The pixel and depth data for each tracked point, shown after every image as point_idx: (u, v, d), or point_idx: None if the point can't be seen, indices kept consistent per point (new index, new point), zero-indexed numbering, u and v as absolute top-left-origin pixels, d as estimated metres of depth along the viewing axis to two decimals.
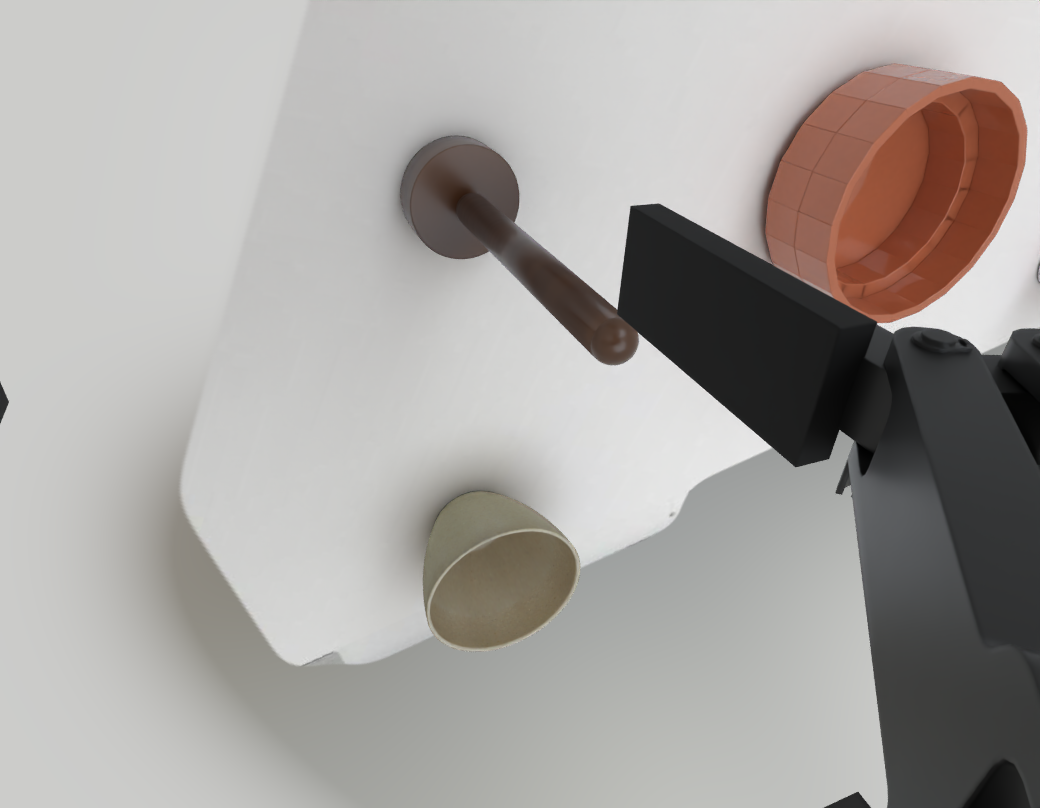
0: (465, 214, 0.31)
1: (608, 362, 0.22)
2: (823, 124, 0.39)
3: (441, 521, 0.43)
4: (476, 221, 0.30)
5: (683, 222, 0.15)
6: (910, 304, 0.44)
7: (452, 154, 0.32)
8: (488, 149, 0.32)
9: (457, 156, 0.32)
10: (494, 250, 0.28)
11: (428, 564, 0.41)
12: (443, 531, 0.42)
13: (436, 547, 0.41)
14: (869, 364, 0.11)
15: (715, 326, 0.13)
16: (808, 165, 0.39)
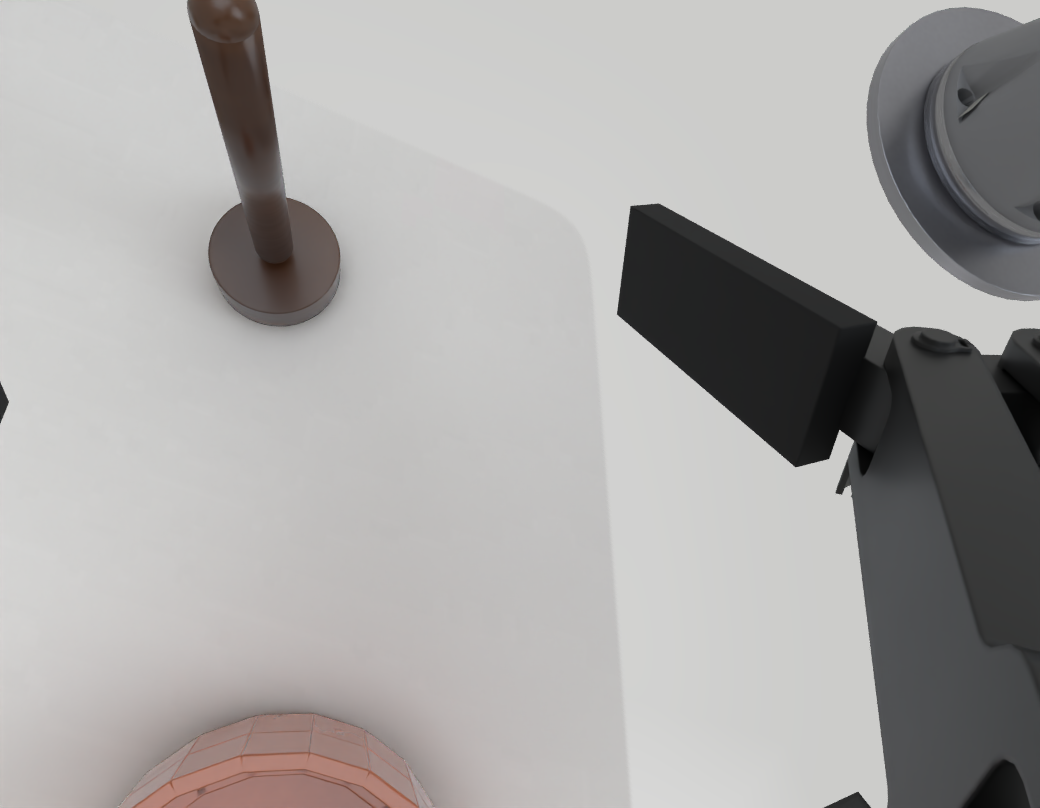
0: None
1: None
2: (370, 742, 0.28)
3: None
4: None
5: (683, 222, 0.15)
6: None
7: (329, 240, 0.31)
8: (334, 277, 0.31)
9: (327, 245, 0.31)
10: None
11: None
12: None
13: None
14: (869, 364, 0.11)
15: (715, 326, 0.13)
16: (317, 728, 0.27)
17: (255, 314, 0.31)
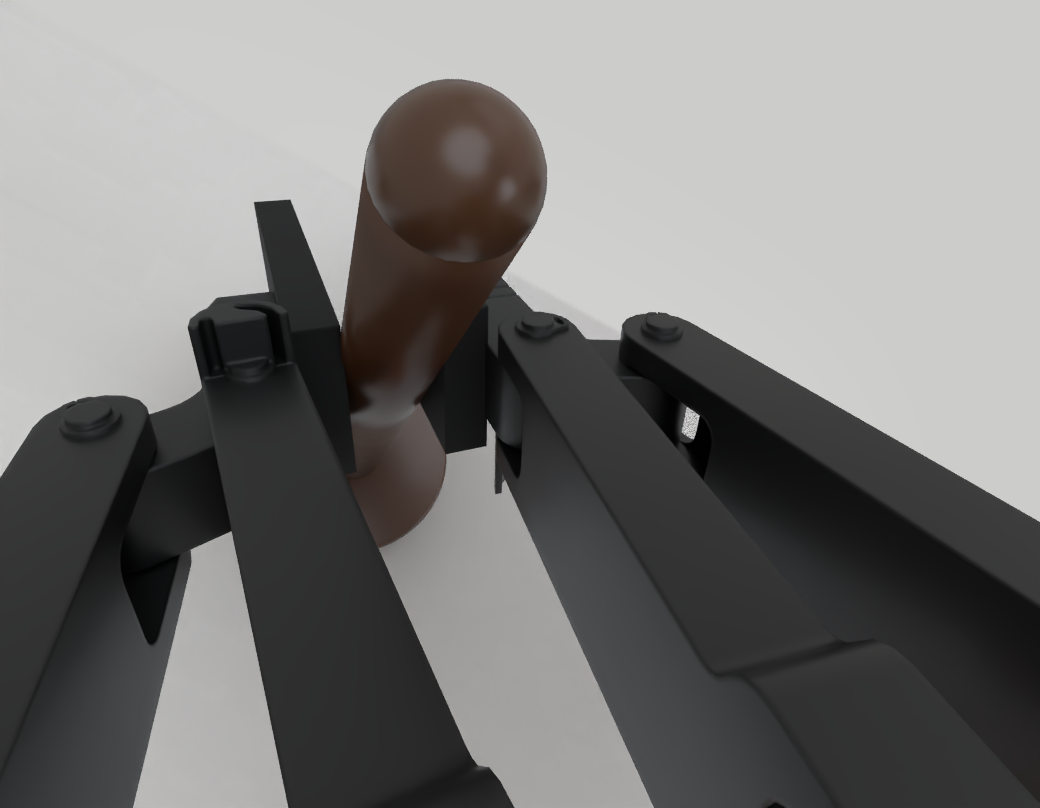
0: None
1: (408, 96, 0.06)
2: None
3: None
4: None
5: None
6: None
7: (433, 437, 0.21)
8: (435, 496, 0.20)
9: (430, 445, 0.21)
10: None
11: None
12: None
13: None
14: (488, 349, 0.11)
15: None
16: None
17: None
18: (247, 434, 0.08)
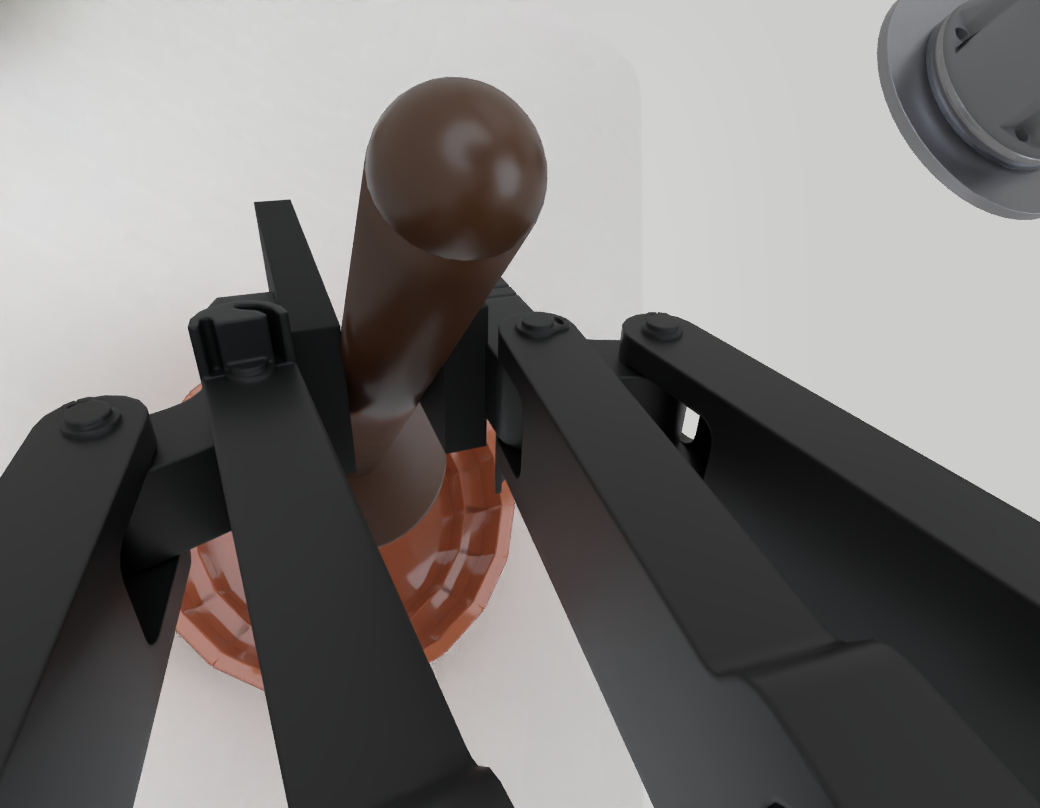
0: None
1: (407, 94, 0.06)
2: None
3: None
4: None
5: None
6: None
7: (433, 437, 0.21)
8: (435, 496, 0.20)
9: (430, 444, 0.21)
10: None
11: None
12: None
13: None
14: (488, 349, 0.11)
15: None
16: None
17: None
18: (248, 434, 0.08)
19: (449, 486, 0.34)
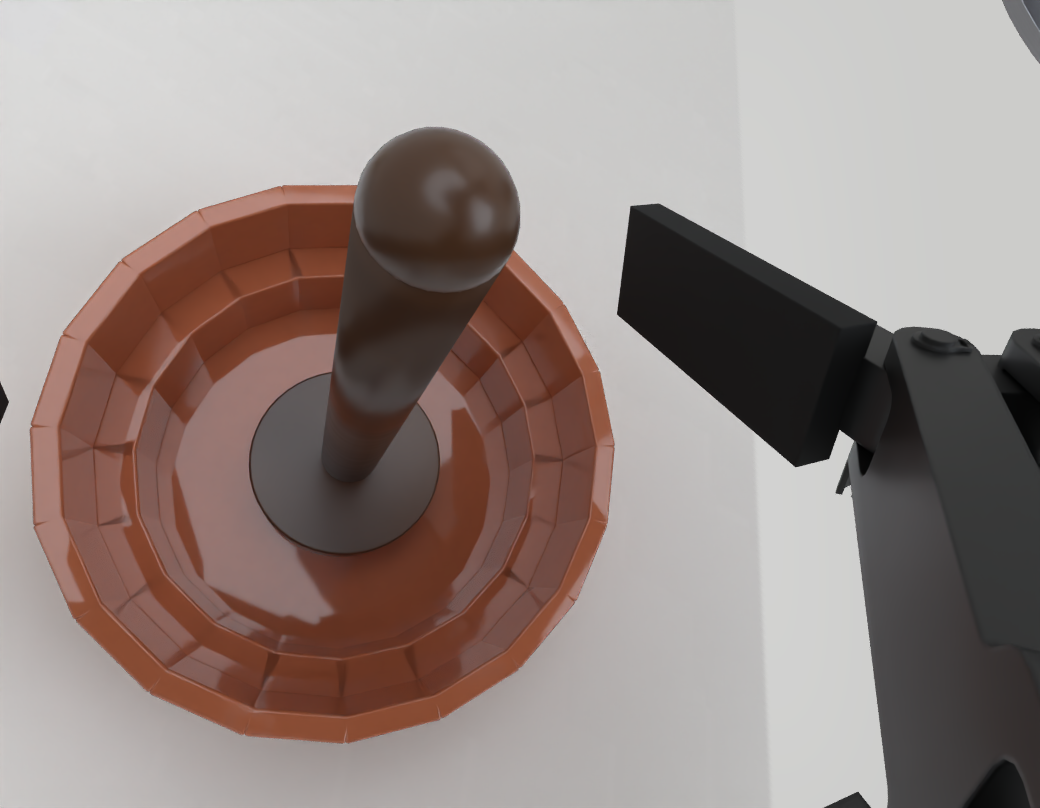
0: None
1: (391, 143, 0.06)
2: None
3: None
4: None
5: (683, 222, 0.15)
6: (67, 504, 0.16)
7: (427, 442, 0.21)
8: (429, 500, 0.21)
9: (424, 449, 0.21)
10: None
11: None
12: None
13: None
14: (869, 364, 0.11)
15: (715, 326, 0.13)
16: None
17: (306, 548, 0.20)
18: None
19: (504, 432, 0.24)
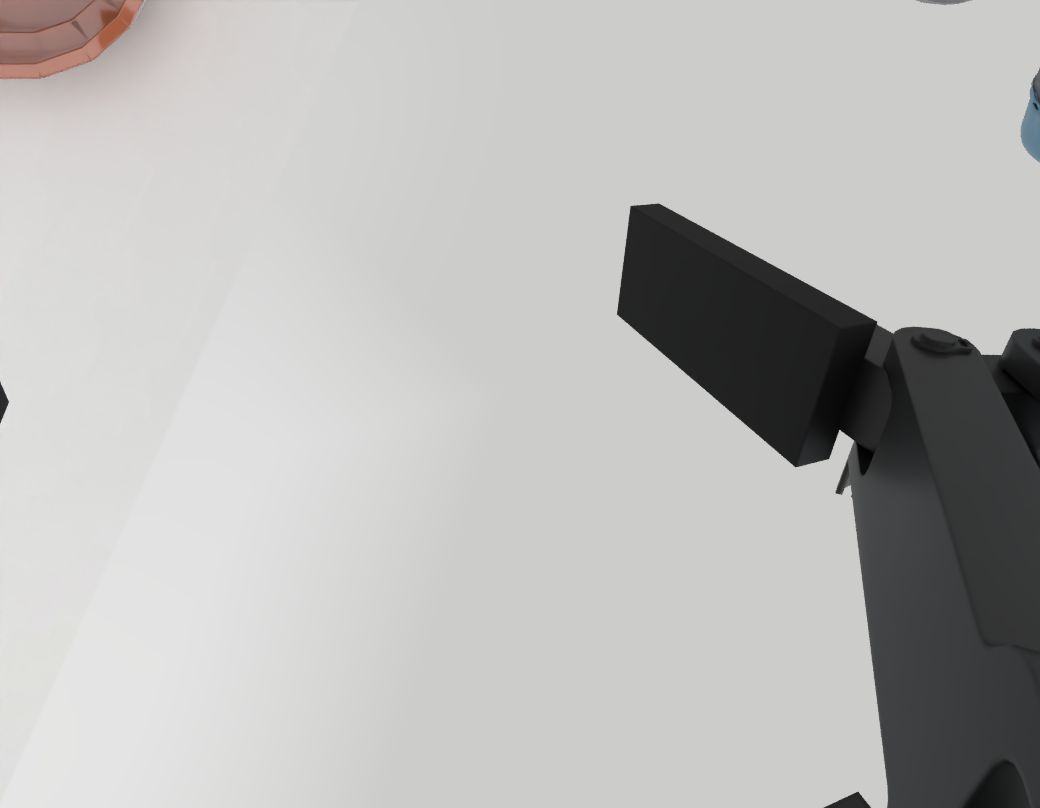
0: None
1: None
2: None
3: None
4: None
5: (683, 222, 0.15)
6: None
7: None
8: None
9: None
10: None
11: None
12: None
13: None
14: (869, 364, 0.11)
15: (715, 326, 0.13)
16: None
17: None
18: None
19: None
